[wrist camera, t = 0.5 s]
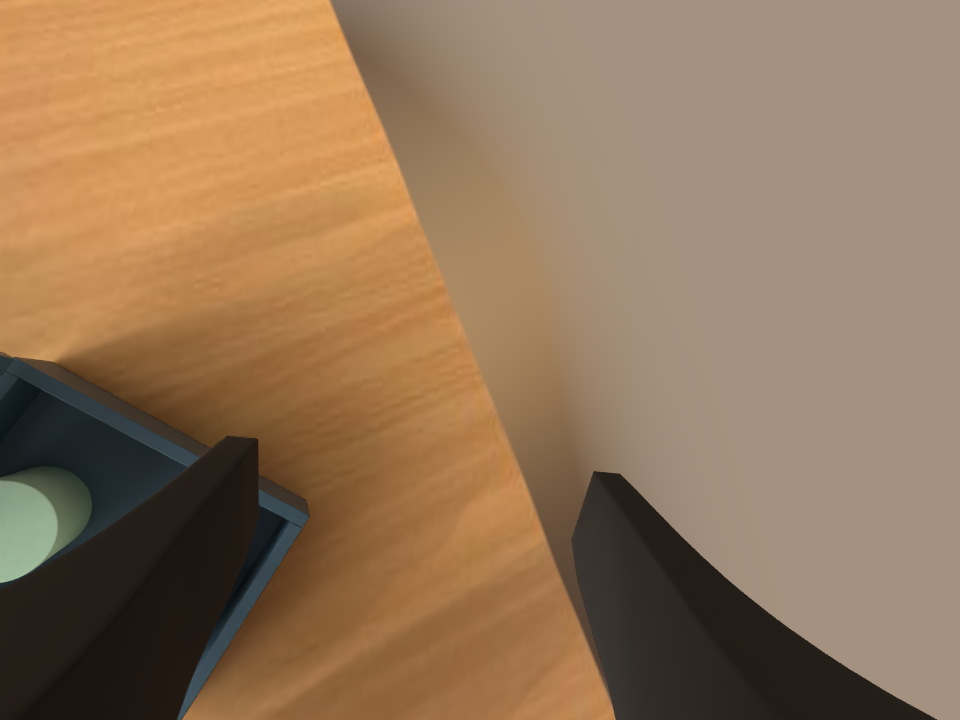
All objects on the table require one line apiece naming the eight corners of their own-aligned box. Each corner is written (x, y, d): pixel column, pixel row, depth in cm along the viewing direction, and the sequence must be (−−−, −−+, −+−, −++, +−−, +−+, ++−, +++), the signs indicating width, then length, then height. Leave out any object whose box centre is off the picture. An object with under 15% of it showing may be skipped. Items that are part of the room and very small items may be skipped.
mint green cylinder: (55, 568, 29) (14, 601, 24) (-33, 528, 28) (-95, 555, 23) (111, 491, 30) (81, 510, 25) (27, 450, 29) (-20, 461, 24)
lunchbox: (306, 499, 34) (310, 515, 29) (173, 709, 31) (156, 760, 27) (51, 361, 30) (13, 356, 25) (-129, 586, 27) (-205, 623, 23)
